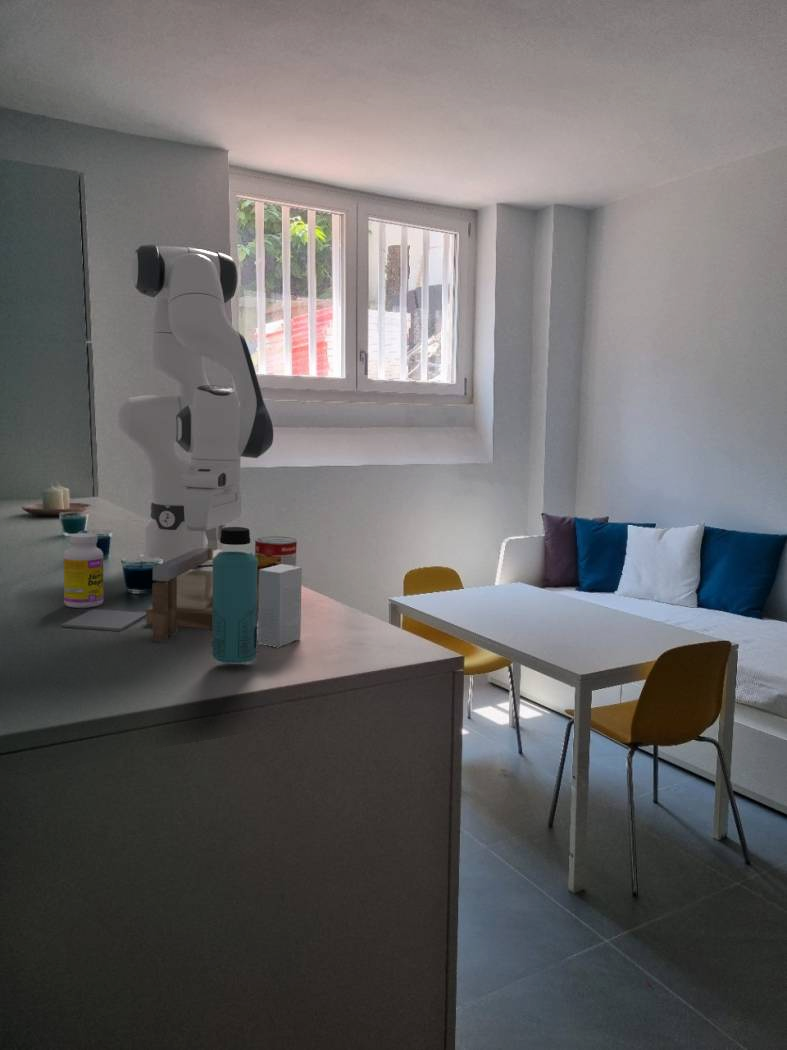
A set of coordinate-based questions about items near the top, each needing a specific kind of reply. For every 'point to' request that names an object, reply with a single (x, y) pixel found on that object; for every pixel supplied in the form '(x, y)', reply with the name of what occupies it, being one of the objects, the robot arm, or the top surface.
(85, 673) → the top surface
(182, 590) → the birch block
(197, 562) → the grey sliding bar
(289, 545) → the canned food
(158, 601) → the holder
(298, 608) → the skincare box
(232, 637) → the beverage bottle
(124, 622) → the mat
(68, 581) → the supplement bottle
